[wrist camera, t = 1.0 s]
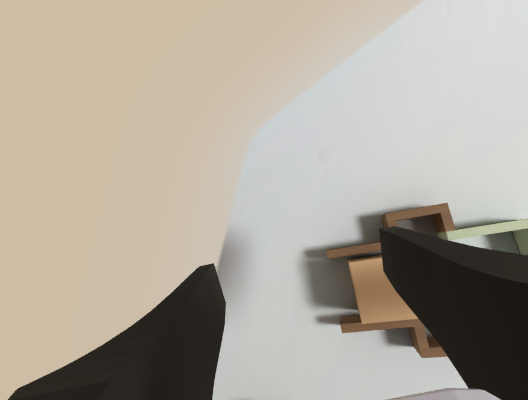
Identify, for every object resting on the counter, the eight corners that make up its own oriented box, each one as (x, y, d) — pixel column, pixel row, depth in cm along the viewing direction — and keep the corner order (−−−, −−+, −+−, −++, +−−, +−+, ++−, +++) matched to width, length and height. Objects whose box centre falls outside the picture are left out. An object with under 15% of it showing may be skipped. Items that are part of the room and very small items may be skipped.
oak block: (411, 304, 21) (428, 317, 17) (357, 309, 22) (362, 323, 18) (398, 251, 22) (411, 253, 18) (347, 259, 22) (348, 262, 19)
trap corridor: (560, 336, 18) (586, 347, 16) (347, 351, 21) (348, 362, 19) (509, 193, 20) (527, 188, 18) (321, 227, 23) (320, 225, 21)
